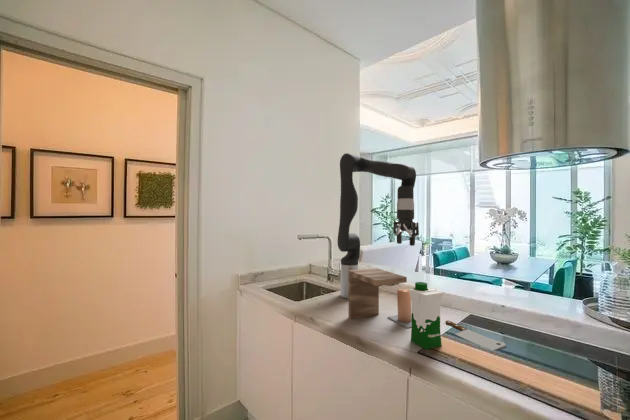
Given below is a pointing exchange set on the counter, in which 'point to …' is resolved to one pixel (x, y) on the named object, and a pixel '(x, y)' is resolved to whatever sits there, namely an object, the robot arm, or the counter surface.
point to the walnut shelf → (368, 290)
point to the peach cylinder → (404, 305)
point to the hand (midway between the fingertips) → (405, 244)
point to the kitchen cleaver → (477, 337)
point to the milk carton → (425, 316)
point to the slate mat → (395, 319)
